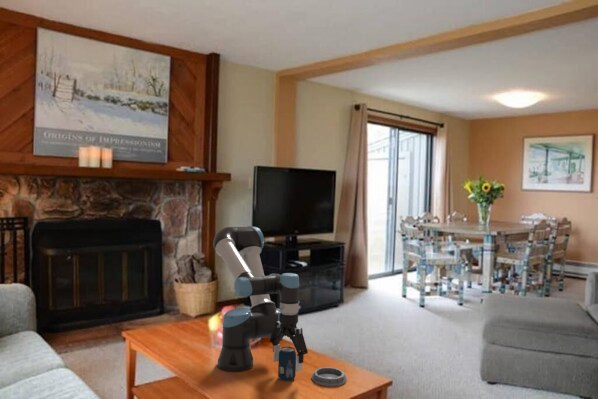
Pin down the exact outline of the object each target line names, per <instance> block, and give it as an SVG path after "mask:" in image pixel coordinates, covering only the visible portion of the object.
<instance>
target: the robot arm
mask: <svg viewBox="0 0 598 399" xmlns="http://www.w3.org/2000/svg"><path fill="white" fill-rule="evenodd" d="M212 244H213V245H212V246H213V249H214V252H215V253H216V254H217V256H219V257H221V259H222V260H223V261H224V263H225V265H226V267H227V269H228V271H230V273H231V275H232V277H233V278H234V283H233V284H234V286H233V287H234V292H235V294H236V295H237V296H238V297H249V298H250V303H251V306H250V308H247V307H239V308H238V307H236V308H233V309H229V310H228V311H226V312H225V313H224V314H223V319H222V324H221V325H222V338H221V339H222V340H221V341H222V342H221V350H220V351H219V352H220V353H219V356H218V359H217V367H218V369H220V370H222V371H224V372H225V371H226V372H233V373H235V372H245V371H248V370H250V369H252V368H253V367H254V357H253V353H252V349H251V340H255V339H262V338H263V339H264V338H268V337H269V342H270V343H271V344H272V346H273V347H272V351H273V360H272V361H273V362H274V363H275V362H279V352H280V349H281V343H280V342H281V341H282V340H283V338H284V337H287V338H289V340H290V341H291V342H292V344H293V346H294V349H295V352H296V372H297V373H298V372H301V371H303V363H304V355H307V354H308V352H309V351H308V348H307V344H306V340H305V337H304V334H303V328H302V327H298V326H297V324H298V323H299V314H298V313H299V305H300V304H299V301H300V300H299V298H300V297H299V296H300V277H299V275H298V274H296V273H293V272H285V273H282V274H279V273H270V274H269V275H265V273H264V268H263V264H262V260H261V256H260V254H261V253H262V250H263V248H264V245H265V239H264V234H263V232H262V231H261V228H259V227H257V226H252V225H251V226H250V225H249V226H226V227H223V228H221V229H220V230H218V231H217V233H216V234H215V236H214V238H213V243H212ZM274 294H276V295H277V294H278V295H279V307H278V308H277V307H276V303H275V302H274V301H272V300H271V296H270V295H274Z"/></svg>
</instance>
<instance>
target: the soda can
mask: <svg viewBox="0 0 598 399" xmlns="http://www.w3.org/2000/svg"><path fill="white" fill-rule="evenodd" d="M296 355H297V351H296V349H295V347H292V346H283V347H280V352H279V361H278V369H277V371H278V372H277V376H278V379H279V380H280V381H281V382H292V381H294V379H295V378H296Z"/></svg>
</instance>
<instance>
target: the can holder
mask: <svg viewBox="0 0 598 399" xmlns="http://www.w3.org/2000/svg"><path fill="white" fill-rule="evenodd" d="M347 379H348V378H347V376H346V373H345V372H344V371H343V370H342V369H339V368H337V367H332V366H327V367H326V366H325V367H324V366H322V367H319V368H317V369H315V370H314V371H313V374H312V375H311V381H312V382H313V383H315V384H317V385H319V386H323V387H329V388H331V387H334V388H335V387H340V385H341V386H343V385H345V384H346V382H347ZM344 383H345V384H344Z"/></svg>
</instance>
